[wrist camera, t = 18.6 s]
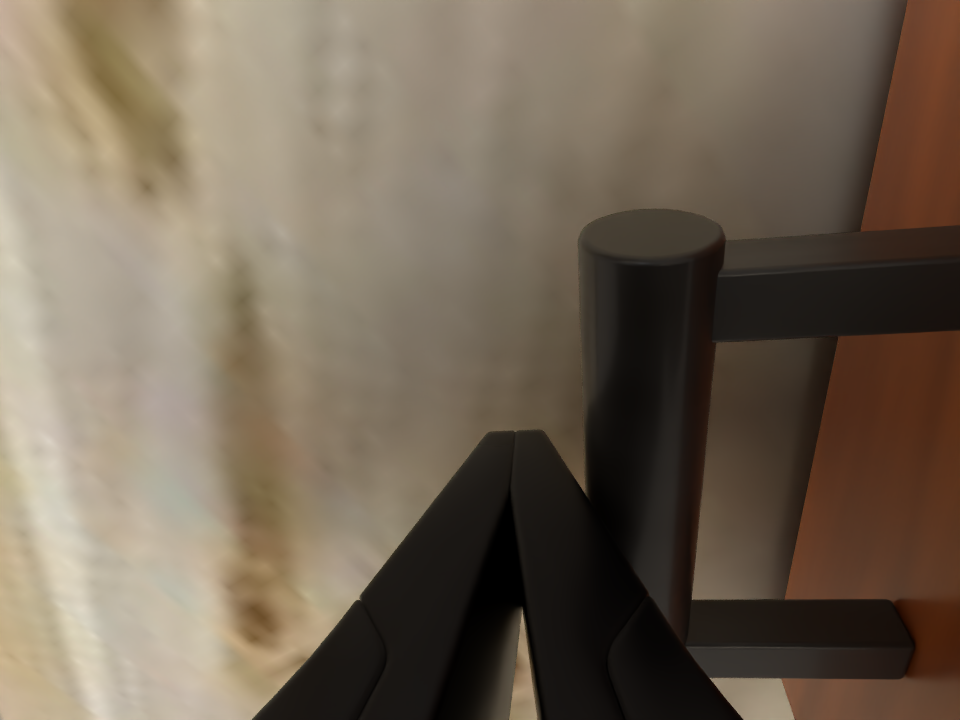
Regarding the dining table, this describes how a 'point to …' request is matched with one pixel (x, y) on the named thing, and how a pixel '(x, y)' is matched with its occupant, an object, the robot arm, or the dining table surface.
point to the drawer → (845, 421)
